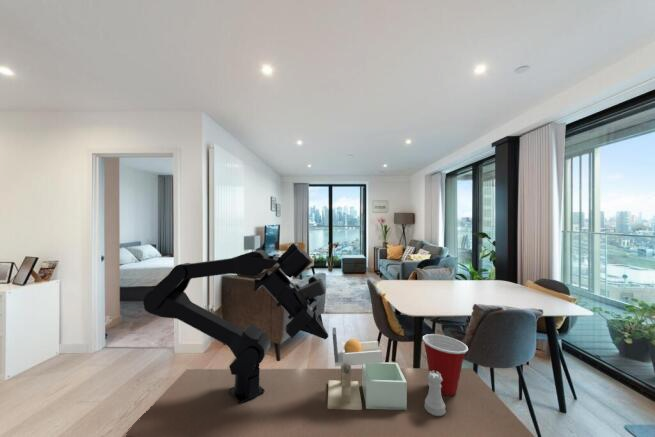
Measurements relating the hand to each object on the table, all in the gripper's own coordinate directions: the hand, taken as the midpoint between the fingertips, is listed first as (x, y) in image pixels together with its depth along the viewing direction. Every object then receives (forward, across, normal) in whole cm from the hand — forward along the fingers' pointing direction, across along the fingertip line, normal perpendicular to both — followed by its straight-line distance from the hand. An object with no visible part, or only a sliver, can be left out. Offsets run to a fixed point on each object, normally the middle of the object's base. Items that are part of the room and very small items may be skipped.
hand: (327, 337), depth 65 cm
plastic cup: (+31, +4, -12) cm, 33 cm away
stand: (+13, 0, +6) cm, 14 cm away
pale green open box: (+19, 0, 0) cm, 19 cm away
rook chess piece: (+27, -4, -8) cm, 28 cm away
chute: (+9, 0, -2) cm, 9 cm away
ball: (+6, 0, -3) cm, 7 cm away
